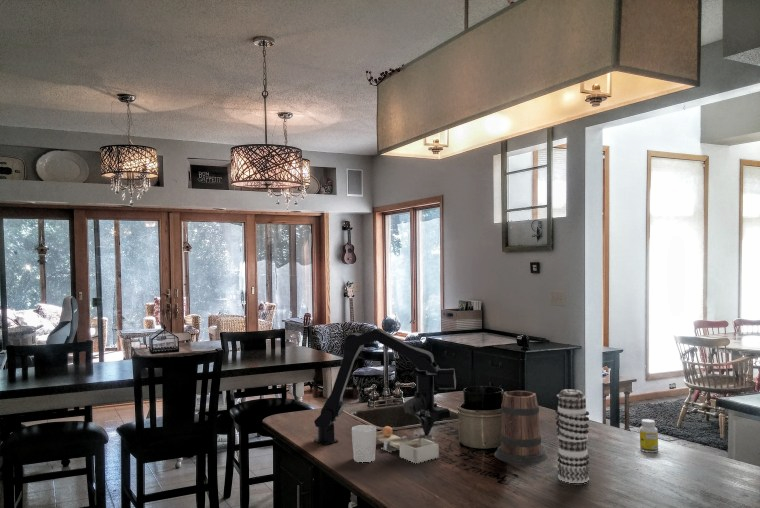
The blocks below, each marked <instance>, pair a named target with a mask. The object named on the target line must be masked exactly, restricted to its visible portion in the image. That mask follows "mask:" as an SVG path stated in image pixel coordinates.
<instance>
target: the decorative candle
mask: <svg viewBox="0 0 760 508" xmlns="http://www.w3.org/2000/svg"><path fill="white" fill-rule="evenodd" d="M556 397H557V401H558V404H557V409H555V410H554V411H555V413H556V415H555V420H556V422H555V425H556V426H557V427H556V435H557V436H556V437H557V438H558V443H559V444H558V452H557V456H558V458H557V462H558V464H557V468H558V469H557V474H558V479H559V481H561V480H562V481H561V482H563V481H565V482H564V483H566V482H569V483H568V484H570V483H584V482H587V481H588V480H589V481H590V478H589V477H590V472H589V471H590V467H589V466H588V465H589V464H590V461H589V458H590V456H589V455H588V447H587V441H588V440H589V436H588V435H587V434H589V433H590V432H589V430H588V428H589V427H590V426H589V424H588V423H586V422H589V421H590V417H588V416H589V415H590V412H589V411H587V405H586V398H587V396H586V395H585V394H584V393H583V391H581V390H579V389H571V388H567V389H566V388H565V389H562V390H561V391H560V392H559V393H558V394H556ZM587 483H588V482H587ZM584 484H585V483H584Z"/></svg>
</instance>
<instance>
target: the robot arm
mask: <svg viewBox="0 0 760 508" xmlns="http://www.w3.org/2000/svg"><path fill="white" fill-rule="evenodd" d="M373 342H377V343H380V344H382V345H383V346H384V347H387V348H389V349H390V350H392V351H394V352H396V353H398V354H400V355H402V356H403V357H405V358H406V359H407V361H409V362H410V363H411V364H412V365H413V366H415V368H414V370H413V372H411V373H410V376H411V377H416V391H414V393H413V397H412V398H410V399H408V400H406V401H404V402H403V403H402V410H403V411H404V413H405V414H410V415H411V416H412V415H413V416H414V417H416V418H417V419H418V420H419V422H420V425H421V428H422V431H423V433H425V435H429V434H431V431H432V428H433V426H434V424H435V422H436V420H443V419H447V418H448V419H449V418H451V410H450V409H449V408H448V407H444V406H440V407H439V406H438V404H437V403H436V402H435V396H436V395H437V394H438V393H437V392H438V391H435V386H436V388H438V389H439V390H456V388H457V387H456V386H457V378H456V372H455V368H440V366H439V365H438V364H437V363H436V361H435V357H434V354H433V353H432V352H430V351H428V350H426V349H423V348H421V347H420V348H419V347H415V346H412V345H411V344H408V343H406V342H404V341H403V340H401V339H399V338H398V337H395V336H393V335H392V334H390V333H388V332H386V331H384V330H383V329H382V328H381V327H380V328H379V327H377V328H375V329H373V330H369V331H367V332H366V331H365V332H363V333H361V332H353V333H351V334H348V335H347V336H346V337H345V339H344V343H343V352H342V353H343V355H342V356H343V357H342V360H341V363H340V366H339V369H338V372H337V375H336V378H335V381H334V384H333V386H332V390H331V392H330V395H329V397H328V398H327V399H326V400H325V402H324V405H323V406H322V408H321V410H320V415H318V417H317V418H316V419H315V420H314V421H313V422H314V425H315V428H317V438H315V439H313V442H316V443H318V444H319V445H322V446H324V445H330V444H334V443H338V442H339V440H338V439H336V437H335V436H336V435H335V422H336V421H337V419H338V418H339V417H340V416H341V415H343V413H344V408H345V406H346V404H347V402H346V401H343V397H344V393H345V391H346V388H347V384H348V382H349V380H350V379H349V378H350V375H351V373H352V370H353V367H354V364H355V361H356V359H357V357H358V356H359V354H360V353H361V351H362V349H363V347H364V345H367V344H370V343H373ZM437 406H438V407H437Z"/></svg>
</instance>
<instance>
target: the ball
mask: <svg viewBox="0 0 760 508" xmlns="http://www.w3.org/2000/svg"><path fill="white" fill-rule="evenodd" d="M381 431H382V432H383V435H384V436H386V437H389V436H391V435H392V434H393V428H392V427H391V426H388V425H387V426H386V425H385V426H384V427H383V428H382V430H381Z"/></svg>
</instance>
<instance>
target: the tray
mask: <svg viewBox="0 0 760 508" xmlns="http://www.w3.org/2000/svg"><path fill="white" fill-rule="evenodd" d="M439 451H440V448H439V443H438V442H436V441H434V442H432V441H430V440H427V439H424V438H421V445H420V446H419V447H416V448H414V447H411V446H408V445H406V444H403V443H400V450H399V458H400V457H401V458H400V459H402V458H404V459H403V460H405V459H406V460H405V461H407V460H408V461H407V462H409V461H411V462H410V463H412V462H413V463H412V464H414V463H415V464H414V465H416V463H417V464H421V463H424V461H425V462H427V461H428V460H429V461H432V460H435V458H436V459H439V458H440V453H439ZM431 459H432V460H431ZM420 462H421V463H420Z"/></svg>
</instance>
